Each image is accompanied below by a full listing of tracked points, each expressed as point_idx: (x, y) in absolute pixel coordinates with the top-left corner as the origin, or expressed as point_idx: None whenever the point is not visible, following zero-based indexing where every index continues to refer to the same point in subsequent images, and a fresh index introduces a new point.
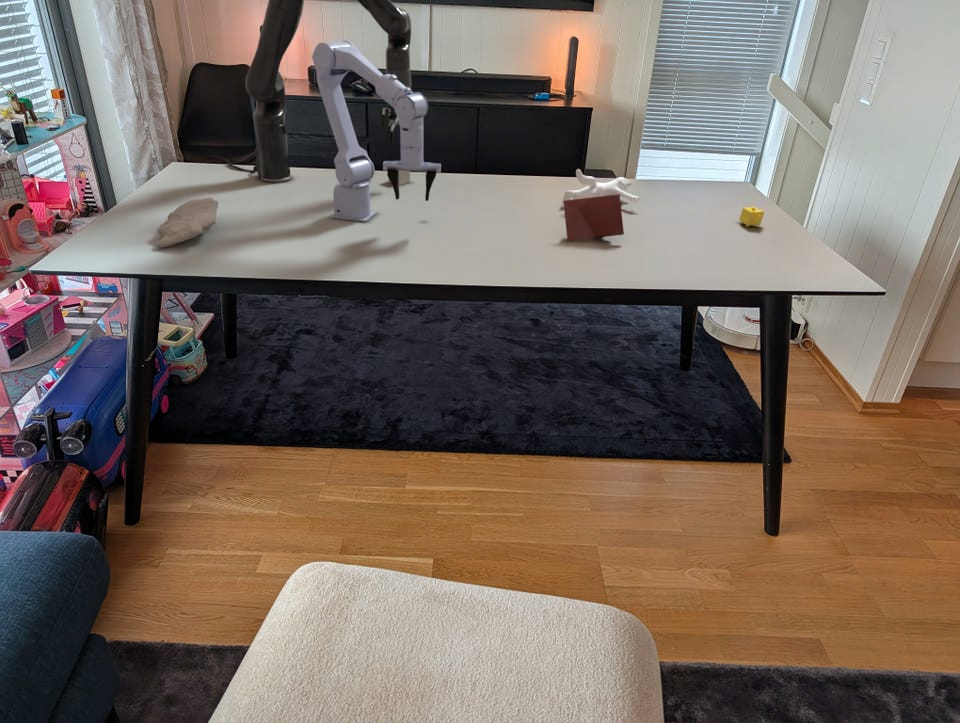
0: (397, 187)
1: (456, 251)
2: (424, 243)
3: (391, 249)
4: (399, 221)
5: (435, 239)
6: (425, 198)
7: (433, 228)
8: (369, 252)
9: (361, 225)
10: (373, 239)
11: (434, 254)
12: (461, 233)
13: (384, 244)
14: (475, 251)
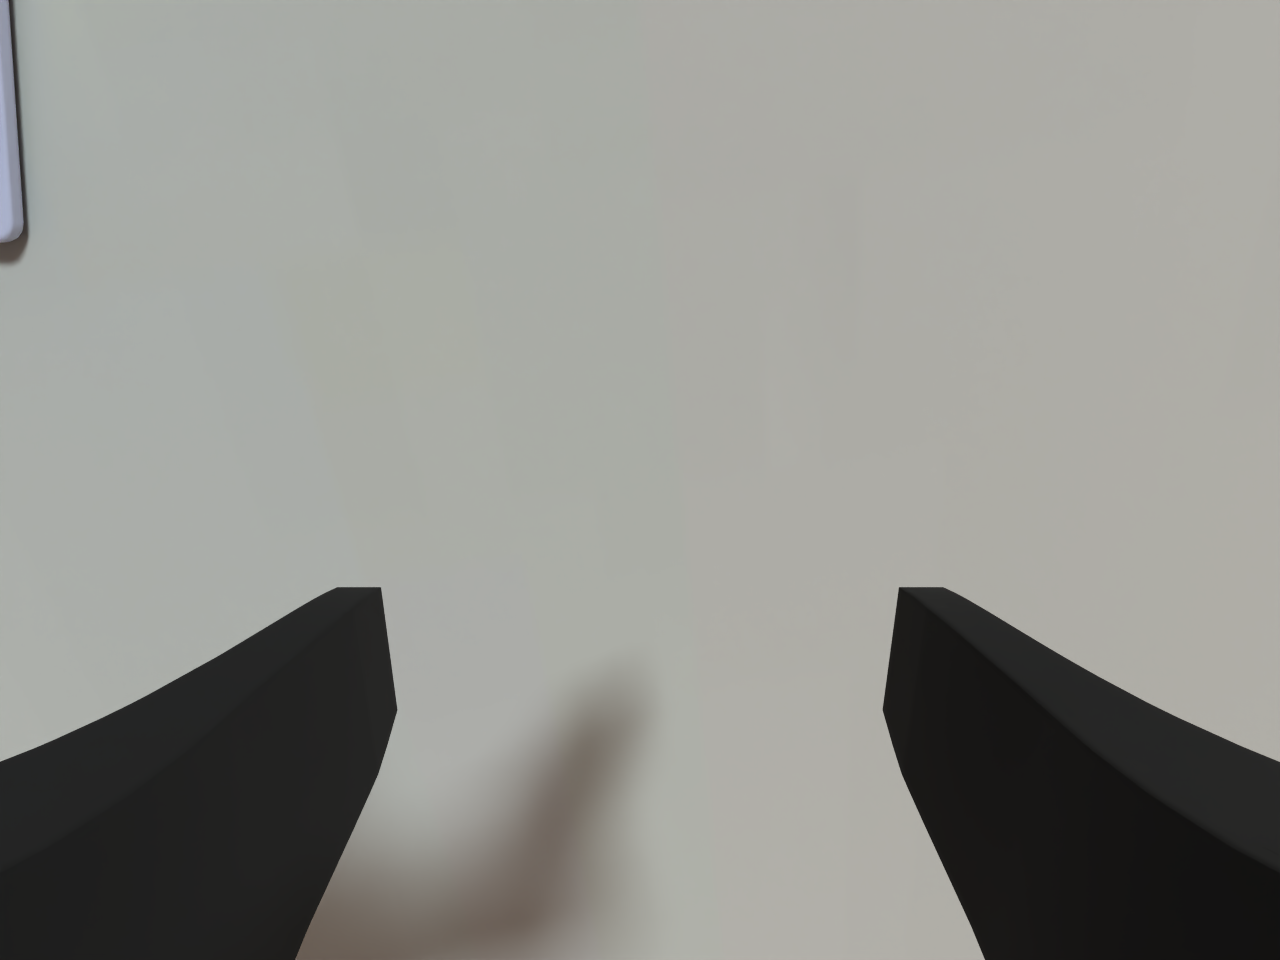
0: (296, 894)
1: None
2: (780, 749)
3: (517, 888)
4: (430, 125)
5: (884, 649)
6: (896, 749)
7: (874, 335)
8: (363, 951)
9: (30, 351)
10: None
11: (864, 935)
12: (1180, 454)
13: (435, 806)
14: None
